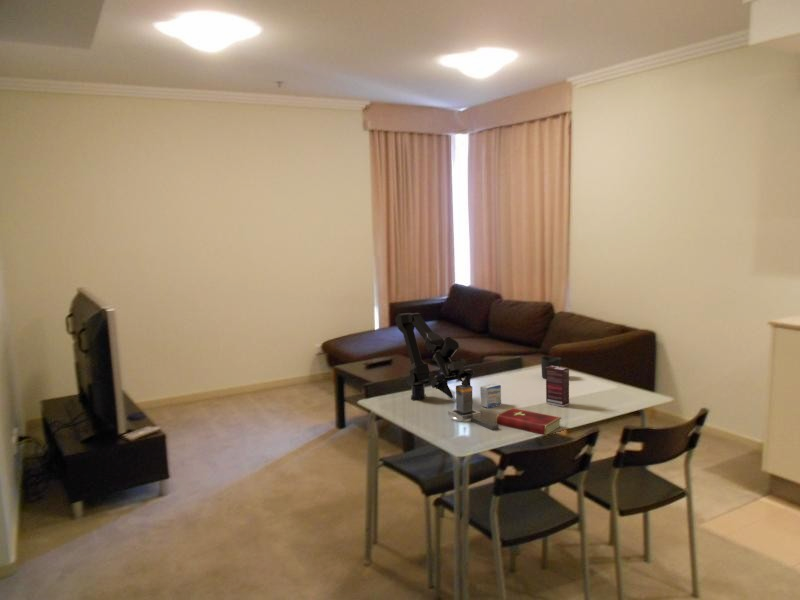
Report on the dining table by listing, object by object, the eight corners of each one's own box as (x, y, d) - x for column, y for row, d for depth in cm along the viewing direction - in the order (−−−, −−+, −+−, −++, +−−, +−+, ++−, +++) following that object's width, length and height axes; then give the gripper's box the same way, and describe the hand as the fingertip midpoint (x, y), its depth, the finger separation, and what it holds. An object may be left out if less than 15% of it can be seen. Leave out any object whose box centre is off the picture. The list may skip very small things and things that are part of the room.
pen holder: (550, 381, 293) (550, 361, 292) (537, 377, 301) (537, 357, 300) (564, 378, 297) (564, 358, 296) (551, 374, 306) (551, 355, 304)
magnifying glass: (443, 415, 245) (443, 410, 245) (467, 410, 251) (467, 405, 251) (483, 432, 224) (482, 427, 224) (507, 426, 230) (507, 421, 230)
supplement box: (569, 404, 255) (569, 367, 253) (563, 407, 251) (563, 370, 249) (551, 401, 261) (551, 364, 259) (545, 403, 257) (545, 367, 255)
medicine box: (487, 408, 253) (487, 388, 252) (480, 405, 257) (480, 386, 256) (501, 404, 258) (501, 384, 257) (494, 402, 261) (494, 382, 260)
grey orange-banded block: (456, 414, 244) (455, 385, 242) (465, 412, 246) (465, 383, 245) (463, 417, 240) (463, 388, 238) (472, 415, 242) (472, 386, 241)
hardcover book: (545, 436, 219) (545, 425, 219) (496, 425, 233) (496, 414, 233) (561, 427, 228) (561, 416, 228) (512, 417, 242) (512, 407, 242)
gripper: (434, 355, 241) (451, 389, 233) (471, 349, 251) (488, 381, 243) (423, 371, 249) (439, 403, 241) (460, 364, 258) (476, 395, 250)
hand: (461, 395), depth 244 cm, fingers open, 9 cm apart
